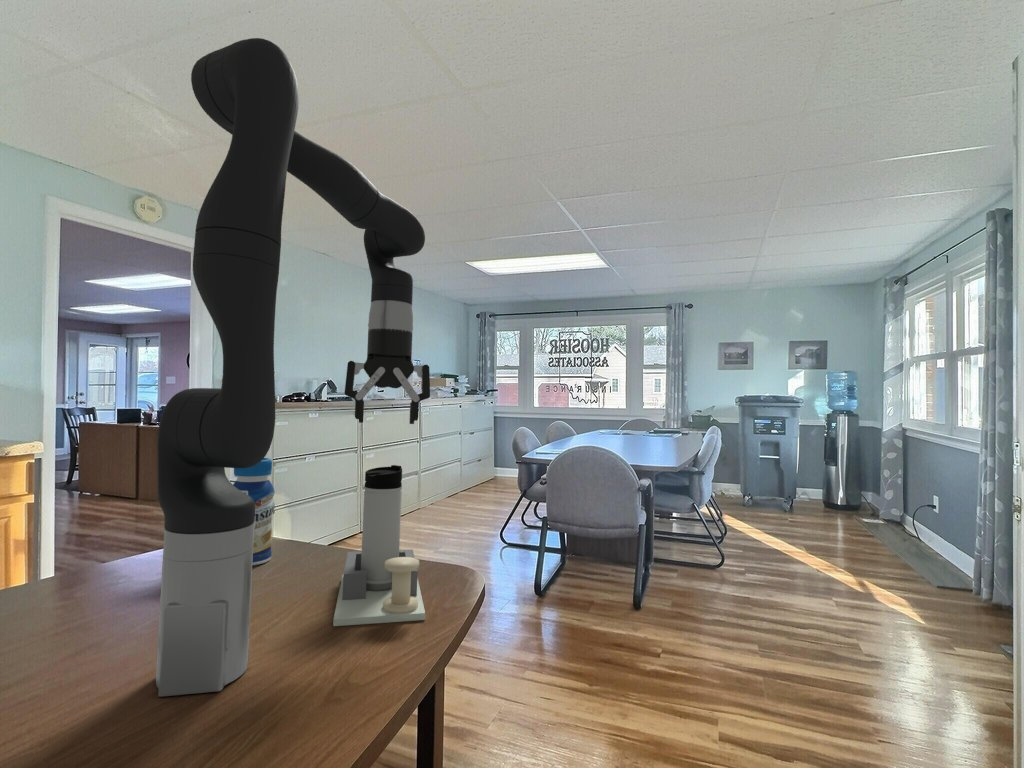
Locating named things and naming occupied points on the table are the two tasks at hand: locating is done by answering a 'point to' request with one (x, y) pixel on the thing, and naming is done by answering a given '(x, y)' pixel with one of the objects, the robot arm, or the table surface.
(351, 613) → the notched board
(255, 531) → the beverage bottle
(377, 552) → the travel mug
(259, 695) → the table surface
